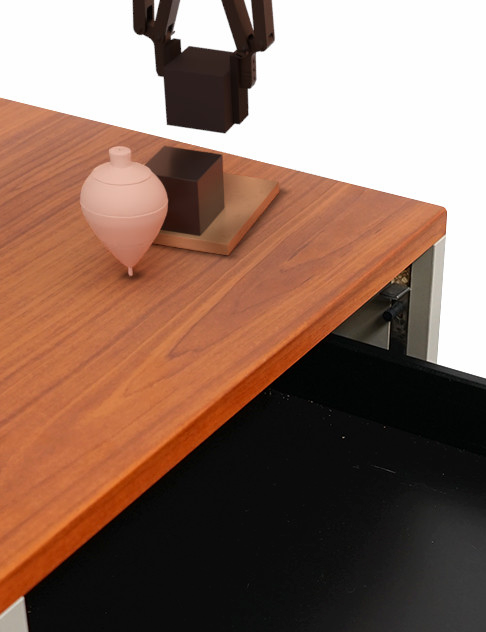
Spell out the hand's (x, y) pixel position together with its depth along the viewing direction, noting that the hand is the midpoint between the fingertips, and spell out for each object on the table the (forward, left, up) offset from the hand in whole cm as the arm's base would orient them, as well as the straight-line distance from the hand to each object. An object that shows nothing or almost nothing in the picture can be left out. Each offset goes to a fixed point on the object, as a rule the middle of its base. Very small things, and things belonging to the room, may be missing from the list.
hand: (208, 114), depth 138 cm
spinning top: (-1, -19, -9) cm, 21 cm away
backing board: (0, -4, -9) cm, 10 cm away
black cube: (0, 0, 0) cm, 0 cm away
